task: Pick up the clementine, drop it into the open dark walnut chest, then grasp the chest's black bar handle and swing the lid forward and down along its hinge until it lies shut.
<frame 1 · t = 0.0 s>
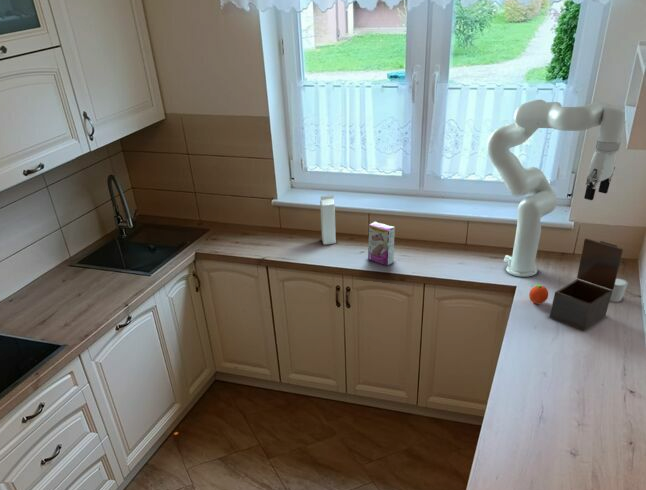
hand: (595, 195, 214), 37 cm above the countertop, tool pointing down, fingers open, 9 cm apart
milk: (328, 242, 286), on the countertop
chest: (577, 316, 219), on the countertop
shot glass: (613, 298, 229), on the countertop
lid: (602, 261, 212), point 19 cm above the countertop, hinge at 85.0°
candy bar box: (380, 261, 265), on the countertop
clementine: (535, 302, 229), on the countertop
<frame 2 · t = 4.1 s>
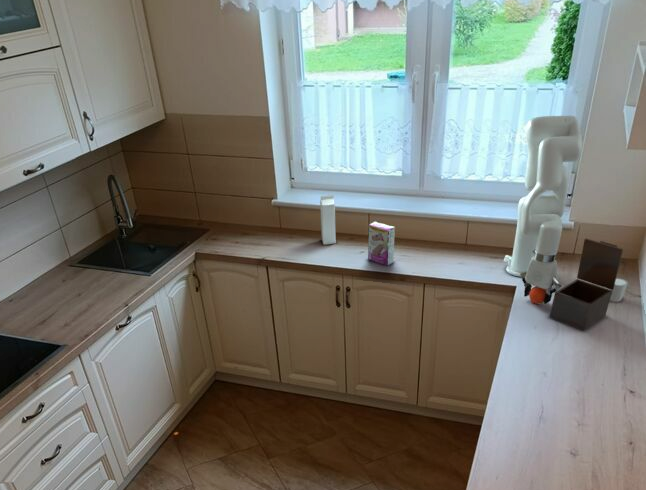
hand: (536, 298, 228), 1 cm above the countertop, tool pointing down, fingers closed on clementine, 8 cm apart
clementine: (535, 302, 229), on the countertop, touching gripper
everything else where it was.
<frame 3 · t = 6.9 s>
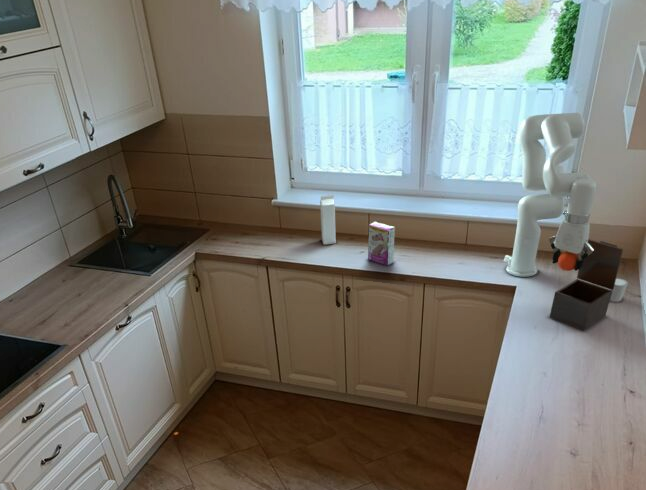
hand: (566, 265, 212), 18 cm above the countertop, tool pointing down, fingers closed on clementine, 8 cm apart
clementine: (565, 269, 213), point 16 cm above the countertop, touching gripper
everything else where it was.
when the fingers open (14 cm above the countertop, at t = 9.5 s): clementine drops 11 cm, resting on chest.
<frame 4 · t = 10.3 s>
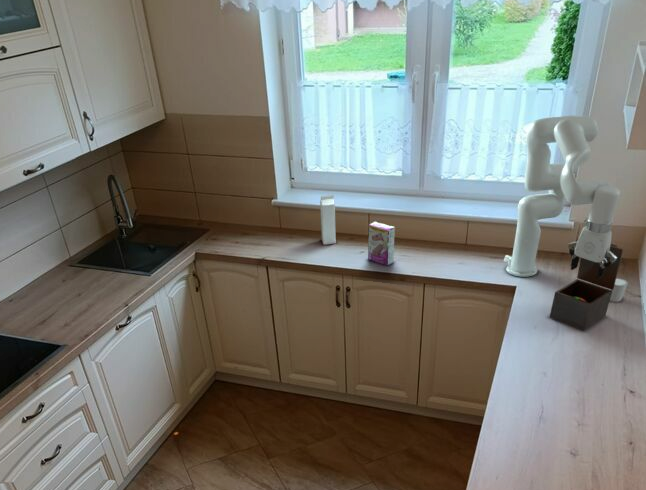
hand: (586, 272, 208), 18 cm above the countertop, tool pointing down, fingers open, 9 cm apart
clementine: (573, 315, 218), point 1 cm above the countertop, touching chest
everything else where it was.
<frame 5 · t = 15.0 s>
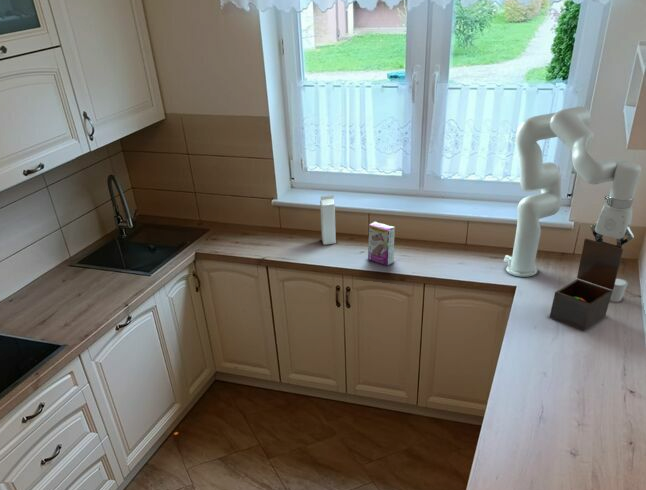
hand: (606, 252, 210), 22 cm above the countertop, tool pointing down, fingers closed on lid, 6 cm apart
lid: (602, 261, 212), point 19 cm above the countertop, hinge at 85.0°, touching gripper
everything else where it was.
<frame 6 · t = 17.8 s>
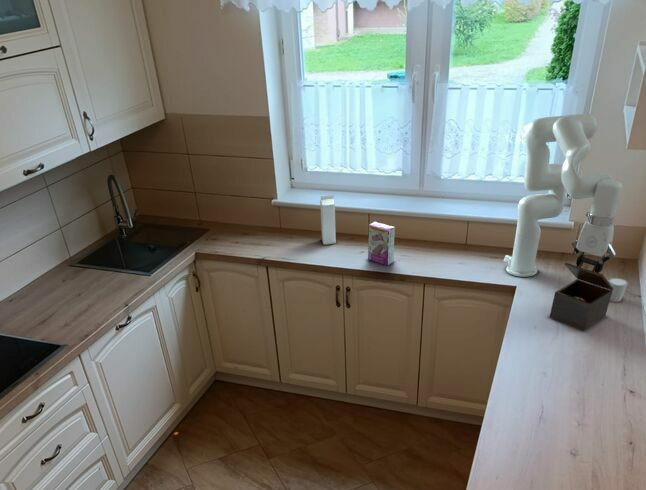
hand: (588, 269, 207), 19 cm above the countertop, tool pointing down, fingers closed on lid, 6 cm apart
lid: (592, 271, 209), point 17 cm above the countertop, hinge at 38.3°, touching gripper
everything else where it was.
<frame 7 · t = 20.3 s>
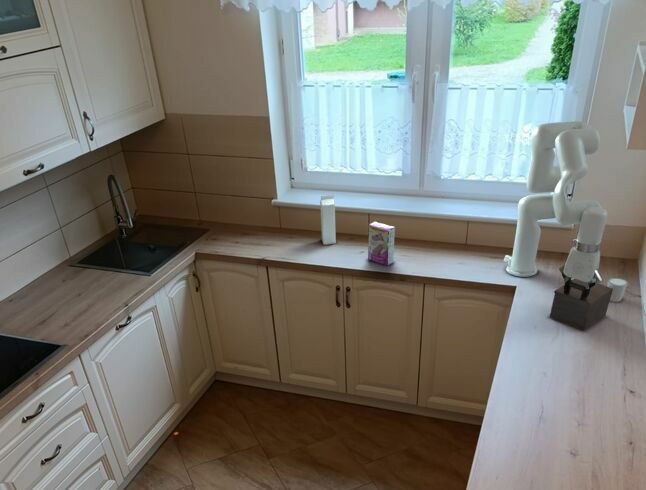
hand: (575, 294, 209), 12 cm above the countertop, tool pointing down, fingers closed on lid, 6 cm apart
lid: (584, 285, 211), point 13 cm above the countertop, hinge at -0.2°, touching chest, gripper
everything else where it was.
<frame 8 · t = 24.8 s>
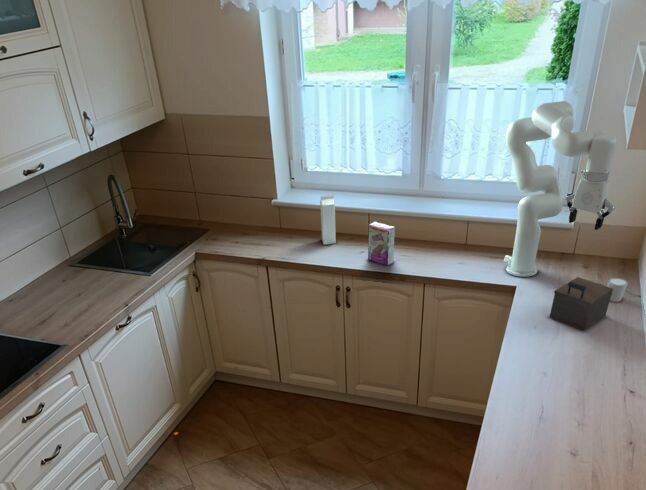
hand: (584, 225, 210), 30 cm above the countertop, tool pointing down, fingers open, 9 cm apart
lid: (584, 285, 211), point 13 cm above the countertop, hinge at -0.2°, touching chest
everything else where it was.
at the end: clementine inside the target area in the chest (1.4 cm from its centre), point 0.7 cm above the chest's base; lid at +0° (first picture: +85°) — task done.
